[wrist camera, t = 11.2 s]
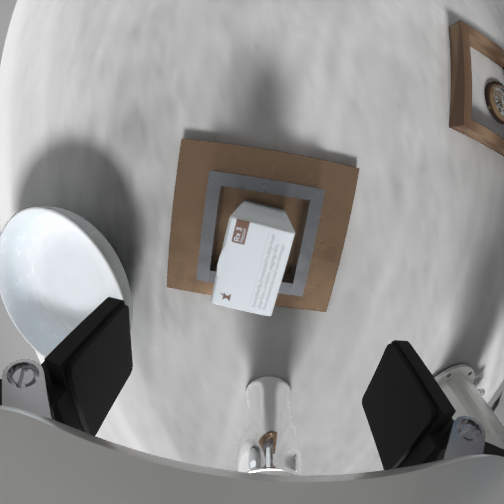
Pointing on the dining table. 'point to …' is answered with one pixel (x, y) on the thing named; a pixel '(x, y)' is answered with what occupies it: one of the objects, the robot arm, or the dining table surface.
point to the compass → (495, 100)
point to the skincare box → (253, 258)
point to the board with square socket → (265, 192)
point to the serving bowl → (56, 273)
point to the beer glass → (269, 430)
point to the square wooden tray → (470, 82)
